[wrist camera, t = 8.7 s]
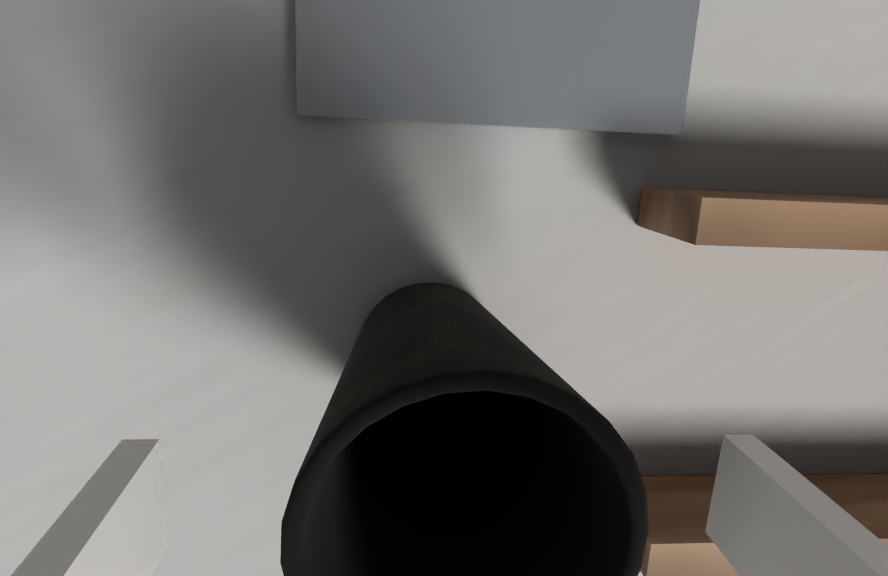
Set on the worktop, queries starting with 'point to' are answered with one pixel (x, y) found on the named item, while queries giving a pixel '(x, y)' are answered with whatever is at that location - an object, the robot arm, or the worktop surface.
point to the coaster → (498, 62)
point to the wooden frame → (755, 225)
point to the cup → (460, 458)
